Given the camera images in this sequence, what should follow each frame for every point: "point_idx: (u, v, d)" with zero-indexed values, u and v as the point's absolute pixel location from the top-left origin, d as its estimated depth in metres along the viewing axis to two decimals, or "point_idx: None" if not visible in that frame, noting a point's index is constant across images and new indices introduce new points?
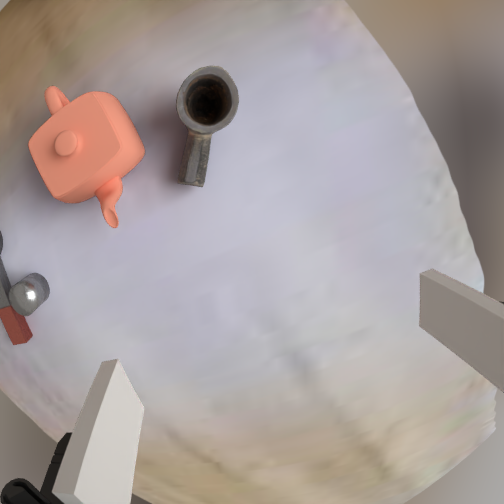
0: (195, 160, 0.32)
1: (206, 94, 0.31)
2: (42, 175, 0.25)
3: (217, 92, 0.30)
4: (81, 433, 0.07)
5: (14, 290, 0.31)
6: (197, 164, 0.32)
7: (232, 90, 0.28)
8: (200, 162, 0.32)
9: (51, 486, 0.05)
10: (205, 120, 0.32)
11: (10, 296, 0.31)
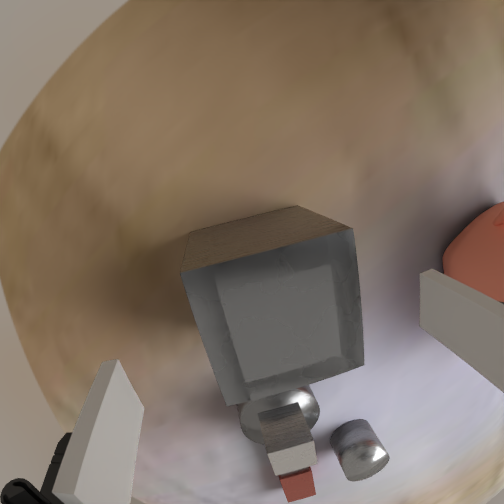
0: None
1: None
2: None
3: None
4: (81, 433, 0.07)
5: (363, 462, 0.21)
6: None
7: None
8: None
9: (51, 486, 0.05)
10: None
11: (351, 470, 0.21)
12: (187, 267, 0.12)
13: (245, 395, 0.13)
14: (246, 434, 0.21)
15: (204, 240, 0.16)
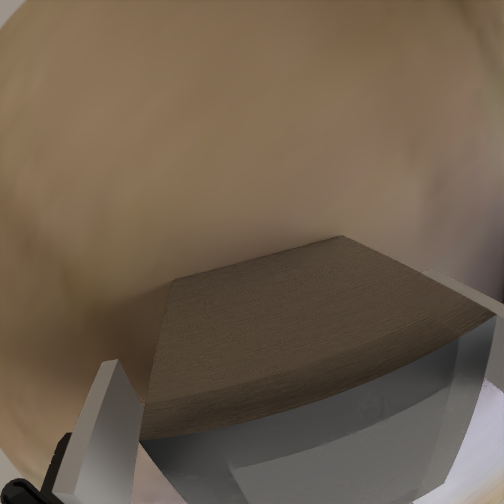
0: None
1: None
2: None
3: None
4: (81, 433, 0.07)
5: None
6: None
7: None
8: None
9: (51, 486, 0.05)
10: None
11: None
12: (156, 419, 0.05)
13: None
14: None
15: (194, 312, 0.09)
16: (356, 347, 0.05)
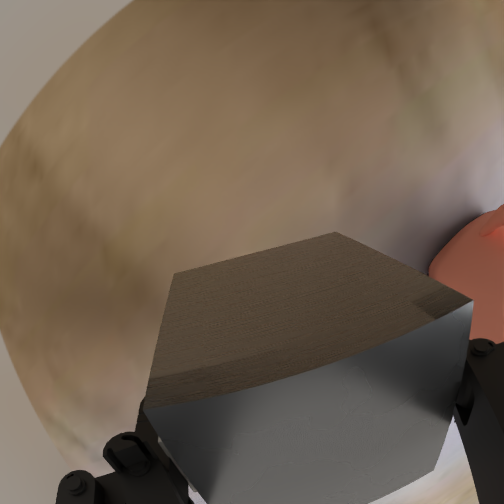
0: None
1: None
2: None
3: None
4: None
5: None
6: None
7: None
8: None
9: None
10: None
11: None
12: (158, 391, 0.05)
13: None
14: None
15: (194, 301, 0.09)
16: (340, 328, 0.06)
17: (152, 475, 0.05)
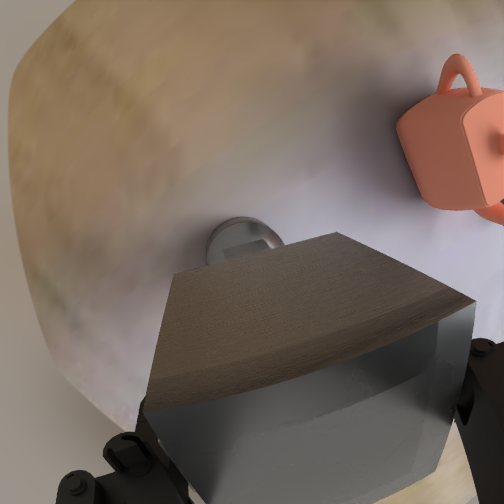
0: None
1: None
2: (478, 172, 0.18)
3: None
4: None
5: None
6: None
7: None
8: None
9: None
10: None
11: None
12: (158, 393, 0.05)
13: None
14: None
15: (194, 302, 0.09)
16: (342, 329, 0.06)
17: (152, 475, 0.05)
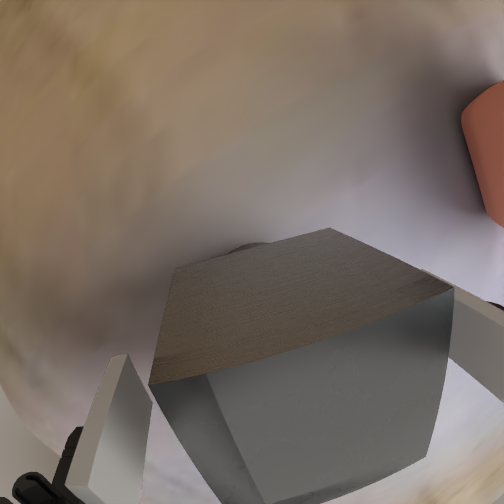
0: None
1: None
2: None
3: None
4: (93, 426, 0.07)
5: None
6: None
7: None
8: None
9: (62, 480, 0.06)
10: None
11: None
12: (163, 369, 0.06)
13: None
14: None
15: (195, 291, 0.10)
16: (328, 312, 0.07)
17: None
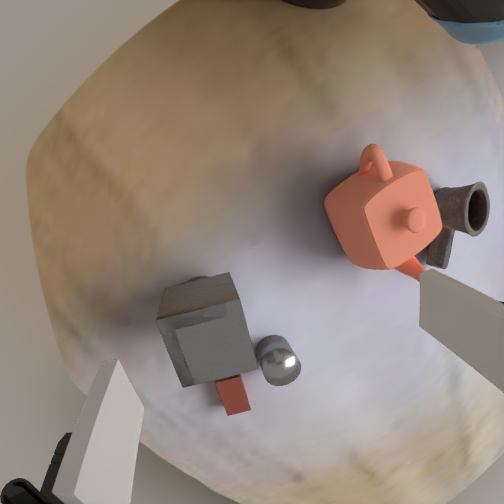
0: (449, 250, 0.36)
1: None
2: (378, 245, 0.29)
3: (469, 198, 0.34)
4: (81, 433, 0.07)
5: (276, 361, 0.33)
6: (449, 253, 0.36)
7: (487, 204, 0.32)
8: (450, 251, 0.36)
9: (51, 486, 0.05)
10: None
11: (267, 368, 0.33)
12: (159, 317, 0.24)
13: (191, 381, 0.26)
14: None
15: (170, 298, 0.28)
16: (203, 304, 0.25)
17: None
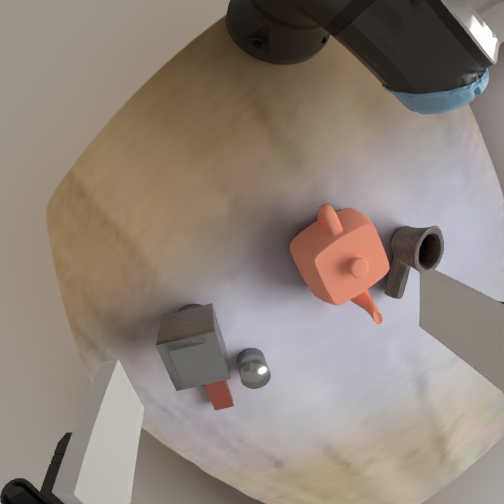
0: (404, 283, 0.45)
1: None
2: (327, 287, 0.37)
3: (426, 238, 0.42)
4: (81, 433, 0.07)
5: (250, 370, 0.43)
6: (404, 285, 0.45)
7: (441, 245, 0.40)
8: (405, 284, 0.45)
9: (51, 486, 0.05)
10: None
11: (243, 375, 0.43)
12: (158, 342, 0.34)
13: (182, 386, 0.35)
14: None
15: (167, 325, 0.38)
16: (189, 333, 0.34)
17: None
